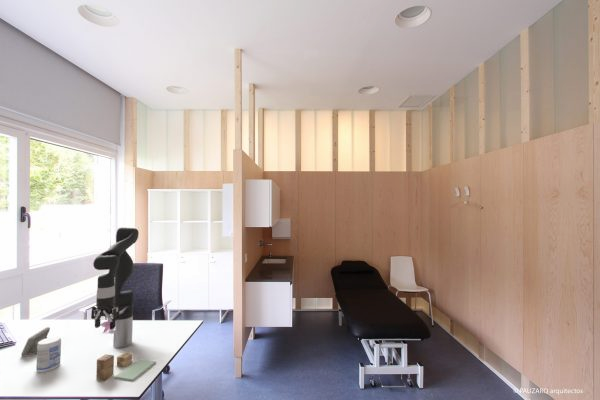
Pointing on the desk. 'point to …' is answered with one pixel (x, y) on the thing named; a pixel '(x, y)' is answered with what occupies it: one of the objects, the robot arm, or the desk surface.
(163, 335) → the desk surface
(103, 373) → the tall walnut block
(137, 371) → the pad
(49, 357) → the supplement tub
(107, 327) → the lily
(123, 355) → the short oak block
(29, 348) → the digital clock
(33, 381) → the desk surface
